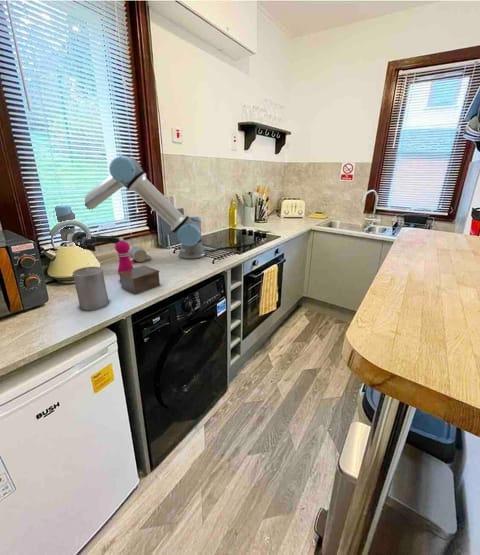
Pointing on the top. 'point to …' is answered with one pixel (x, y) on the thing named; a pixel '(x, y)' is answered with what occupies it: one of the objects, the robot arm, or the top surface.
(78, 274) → the pillar candle
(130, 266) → the pepper mill
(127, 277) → the block
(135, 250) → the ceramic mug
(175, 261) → the top surface
